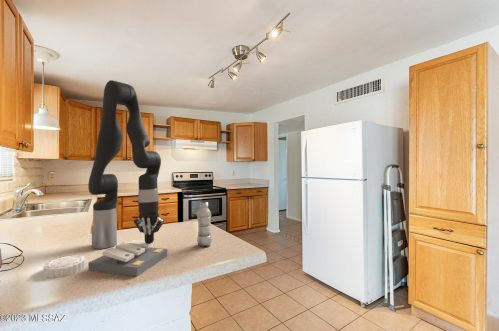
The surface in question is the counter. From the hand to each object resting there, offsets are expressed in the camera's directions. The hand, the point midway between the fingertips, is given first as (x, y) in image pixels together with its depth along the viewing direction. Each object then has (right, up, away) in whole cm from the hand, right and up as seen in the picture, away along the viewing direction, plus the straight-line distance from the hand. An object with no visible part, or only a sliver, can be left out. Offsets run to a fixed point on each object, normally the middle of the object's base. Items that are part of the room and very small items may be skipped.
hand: (149, 242), depth 96 cm
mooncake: (-26, -7, -10) cm, 29 cm away
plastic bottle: (+20, -6, +14) cm, 25 cm away
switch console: (-5, -6, -5) cm, 9 cm away
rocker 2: (-4, -1, +1) cm, 4 cm away
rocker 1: (-7, -1, -11) cm, 13 cm away
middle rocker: (-5, -1, -5) cm, 7 cm away
